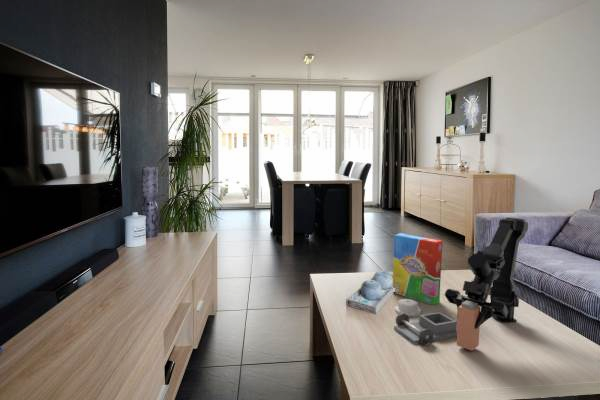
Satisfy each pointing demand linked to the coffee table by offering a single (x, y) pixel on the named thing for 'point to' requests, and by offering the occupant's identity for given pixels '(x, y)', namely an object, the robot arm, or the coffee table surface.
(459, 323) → the two-tone capped block
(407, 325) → the chassis
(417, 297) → the game box
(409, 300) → the mechanical component
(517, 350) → the coffee table surface
